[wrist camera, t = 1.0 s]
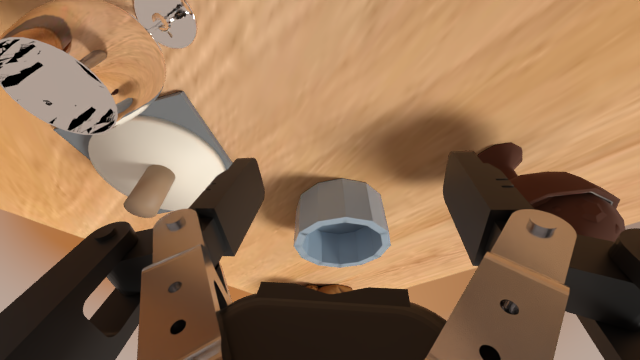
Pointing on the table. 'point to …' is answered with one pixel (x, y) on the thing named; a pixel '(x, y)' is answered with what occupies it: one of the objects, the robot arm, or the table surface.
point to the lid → (154, 164)
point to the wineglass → (91, 60)
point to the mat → (169, 109)
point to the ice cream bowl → (561, 195)
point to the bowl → (341, 224)
